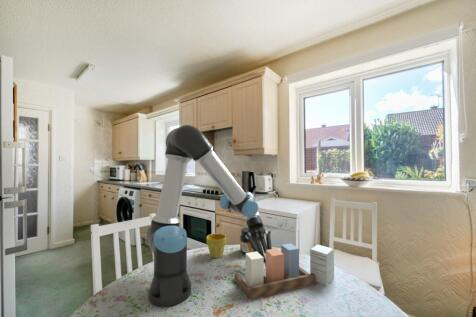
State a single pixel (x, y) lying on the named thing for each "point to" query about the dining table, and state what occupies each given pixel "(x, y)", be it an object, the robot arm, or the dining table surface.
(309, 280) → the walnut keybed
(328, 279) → the supplement box
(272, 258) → the pink rectangular block
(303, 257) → the dining table surface
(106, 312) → the dining table surface
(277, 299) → the dining table surface
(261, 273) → the ivory key
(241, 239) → the supplement container
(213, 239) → the plant pot
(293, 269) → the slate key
